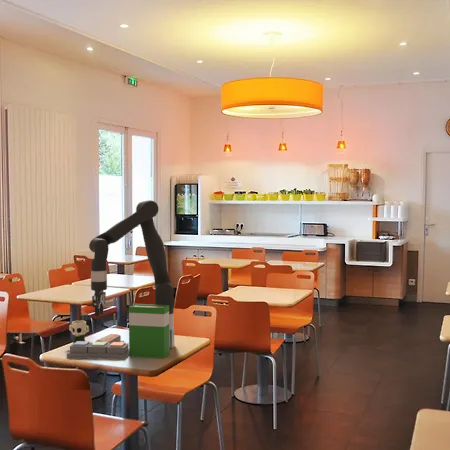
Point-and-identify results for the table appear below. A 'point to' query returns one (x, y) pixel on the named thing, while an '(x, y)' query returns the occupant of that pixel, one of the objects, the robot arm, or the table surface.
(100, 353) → the button panel
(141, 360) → the table surface
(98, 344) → the sage button
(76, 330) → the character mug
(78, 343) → the slate button
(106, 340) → the packaged product
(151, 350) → the green cereal box
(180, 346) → the table surface
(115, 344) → the terracotta button
